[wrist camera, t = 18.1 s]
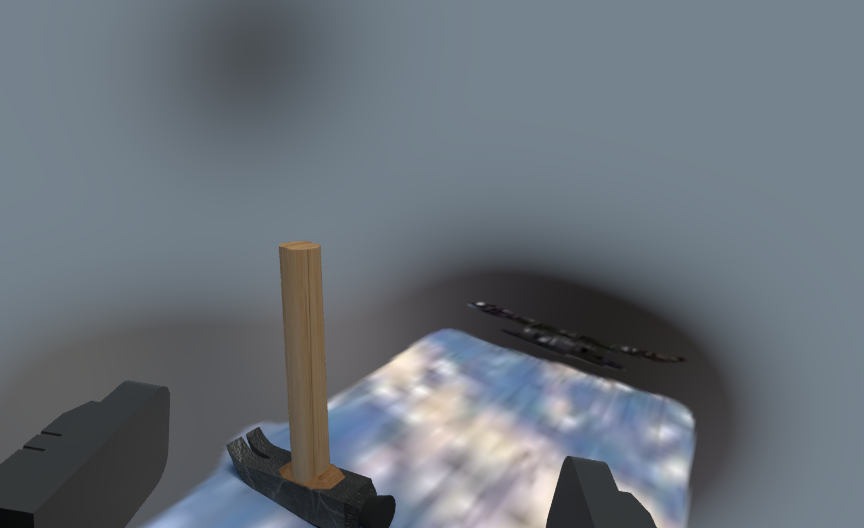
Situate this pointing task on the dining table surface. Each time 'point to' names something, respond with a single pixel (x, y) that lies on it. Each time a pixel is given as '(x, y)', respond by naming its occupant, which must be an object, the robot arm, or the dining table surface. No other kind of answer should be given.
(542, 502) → the dining table surface
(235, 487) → the dining table surface
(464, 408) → the dining table surface
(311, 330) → the hammer
